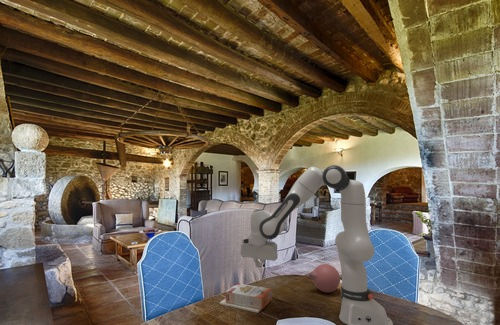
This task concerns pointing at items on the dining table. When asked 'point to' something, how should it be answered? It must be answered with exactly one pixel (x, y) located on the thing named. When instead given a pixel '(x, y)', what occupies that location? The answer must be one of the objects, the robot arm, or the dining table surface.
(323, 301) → the dining table surface
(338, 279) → the balloon
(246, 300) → the cracker box
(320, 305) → the dining table surface
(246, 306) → the limestone tile
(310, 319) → the dining table surface
